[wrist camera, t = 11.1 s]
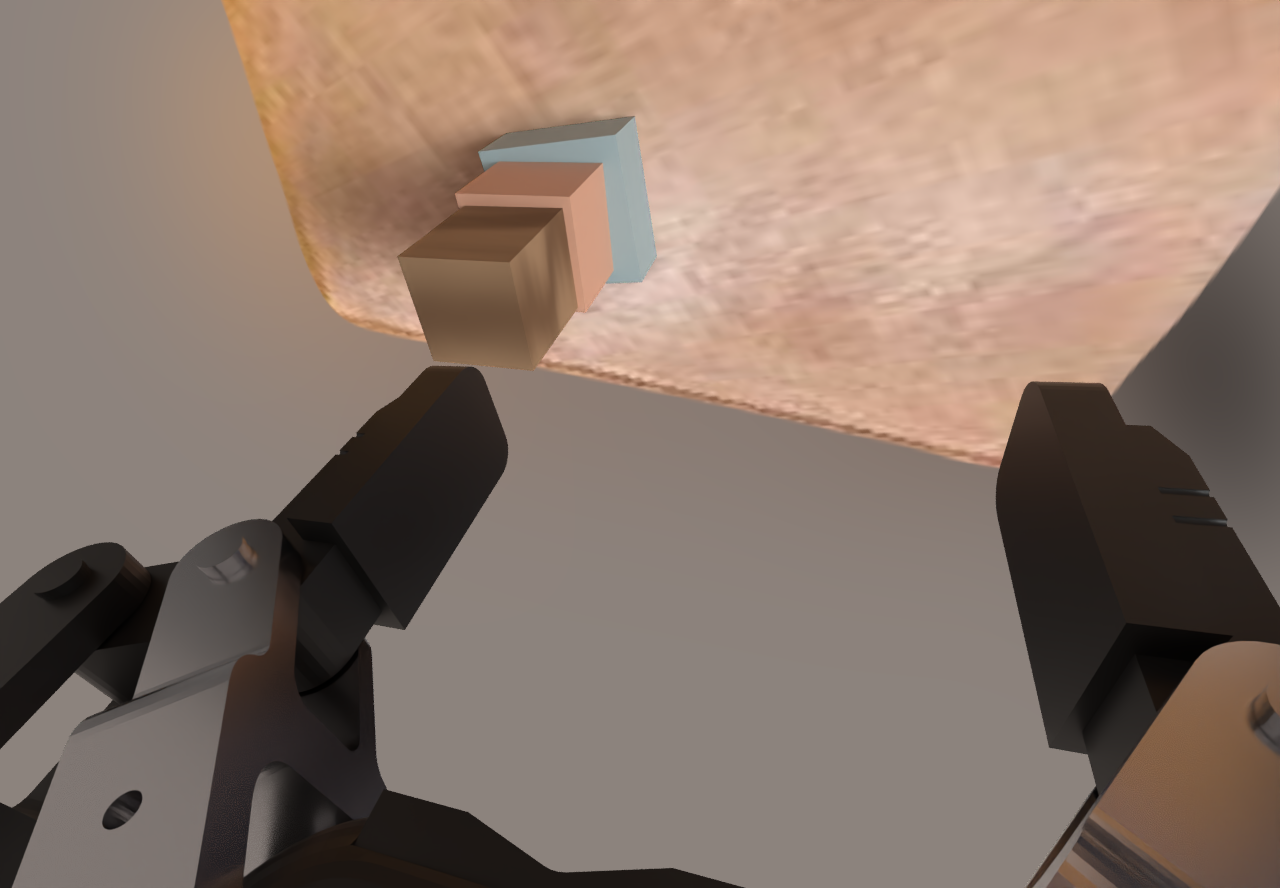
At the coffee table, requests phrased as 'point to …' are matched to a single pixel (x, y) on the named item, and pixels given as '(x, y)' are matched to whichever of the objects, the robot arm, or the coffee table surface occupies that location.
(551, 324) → the walnut block
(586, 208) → the tower top
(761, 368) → the coffee table surface
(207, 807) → the robot arm
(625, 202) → the tower base
